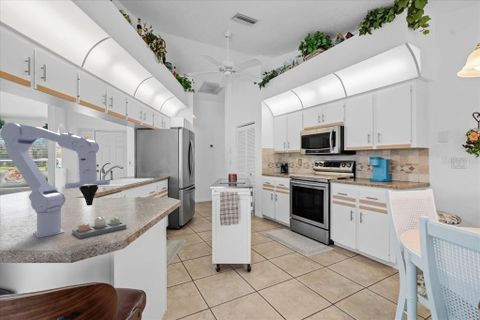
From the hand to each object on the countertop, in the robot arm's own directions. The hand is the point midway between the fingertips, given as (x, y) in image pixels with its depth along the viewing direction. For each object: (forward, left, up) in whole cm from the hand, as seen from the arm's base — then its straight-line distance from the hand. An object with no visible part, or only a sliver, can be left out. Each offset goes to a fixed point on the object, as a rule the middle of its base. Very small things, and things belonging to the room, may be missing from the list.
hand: (89, 205), depth 90 cm
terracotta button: (+2, -2, -10) cm, 11 cm away
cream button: (+2, +3, -9) cm, 10 cm away
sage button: (+2, +9, -10) cm, 14 cm away
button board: (+2, +3, -10) cm, 11 cm away
